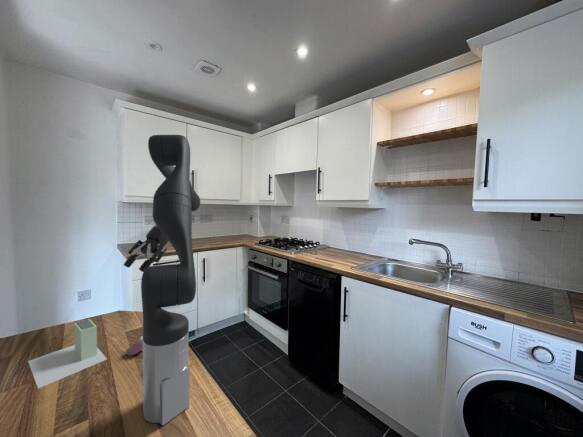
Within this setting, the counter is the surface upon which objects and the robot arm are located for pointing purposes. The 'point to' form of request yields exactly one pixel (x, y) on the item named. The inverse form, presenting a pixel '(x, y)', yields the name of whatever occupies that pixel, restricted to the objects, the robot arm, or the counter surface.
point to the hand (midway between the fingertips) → (133, 268)
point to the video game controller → (136, 347)
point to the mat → (60, 365)
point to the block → (85, 339)
